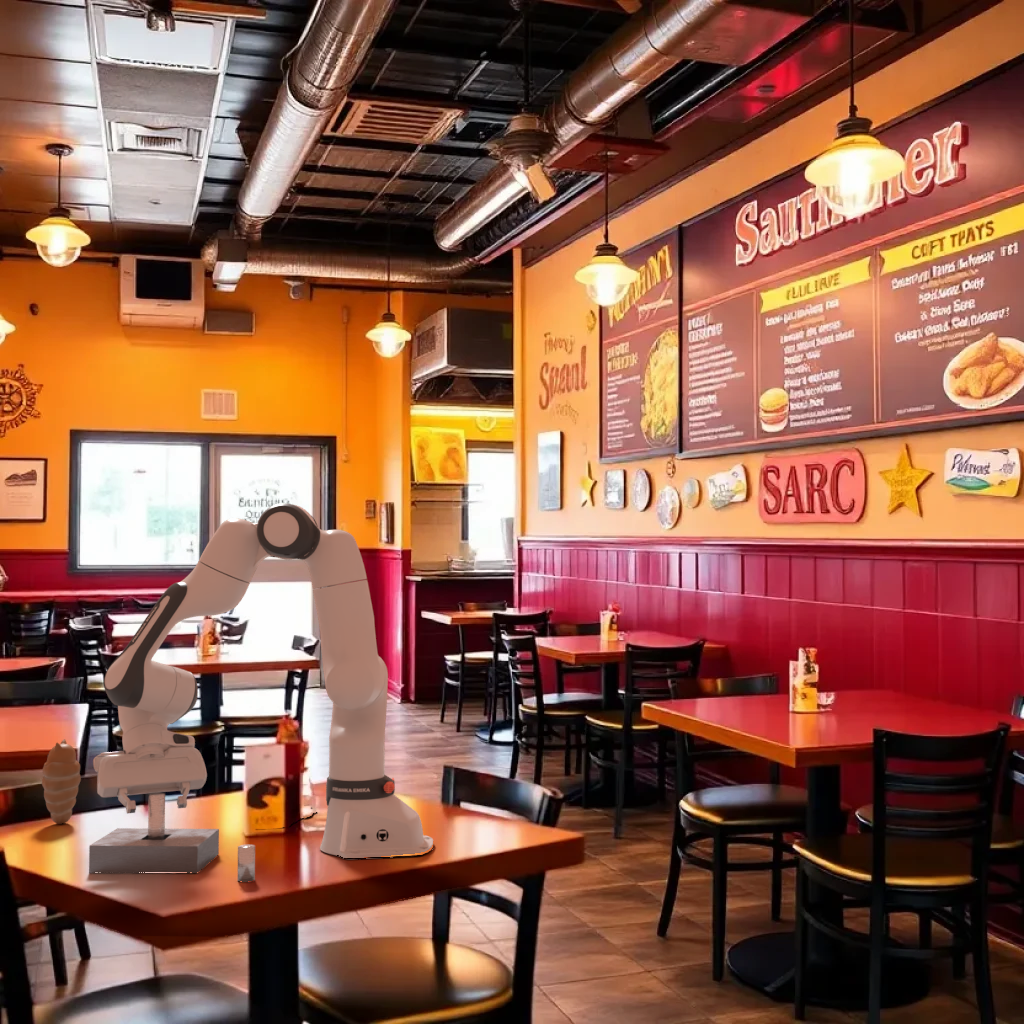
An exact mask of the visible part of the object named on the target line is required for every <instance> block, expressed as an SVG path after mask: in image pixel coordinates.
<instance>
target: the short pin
mask: <svg viewBox="0 0 1024 1024" xmlns="http://www.w3.org/2000/svg"><path fill="white" fill-rule="evenodd" d="M255 875H256V845H255V844H240V845H239V846H237V882H238V881H242V882H248V881H253V880H254V881H255V880H256V878H255V877H256V876H255ZM254 881H253V882H254ZM248 883H249V882H248Z"/></svg>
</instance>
